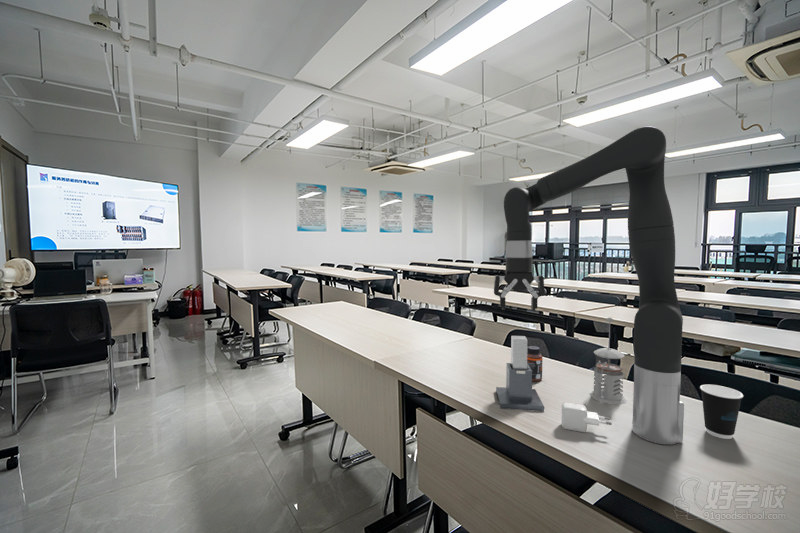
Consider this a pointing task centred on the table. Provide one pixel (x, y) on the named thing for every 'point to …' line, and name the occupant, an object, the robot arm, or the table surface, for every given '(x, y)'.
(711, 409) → the dixie cup
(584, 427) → the power adapter
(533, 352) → the supplement bottle
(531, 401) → the stand housing
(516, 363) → the column
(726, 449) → the table surface
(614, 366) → the french press
